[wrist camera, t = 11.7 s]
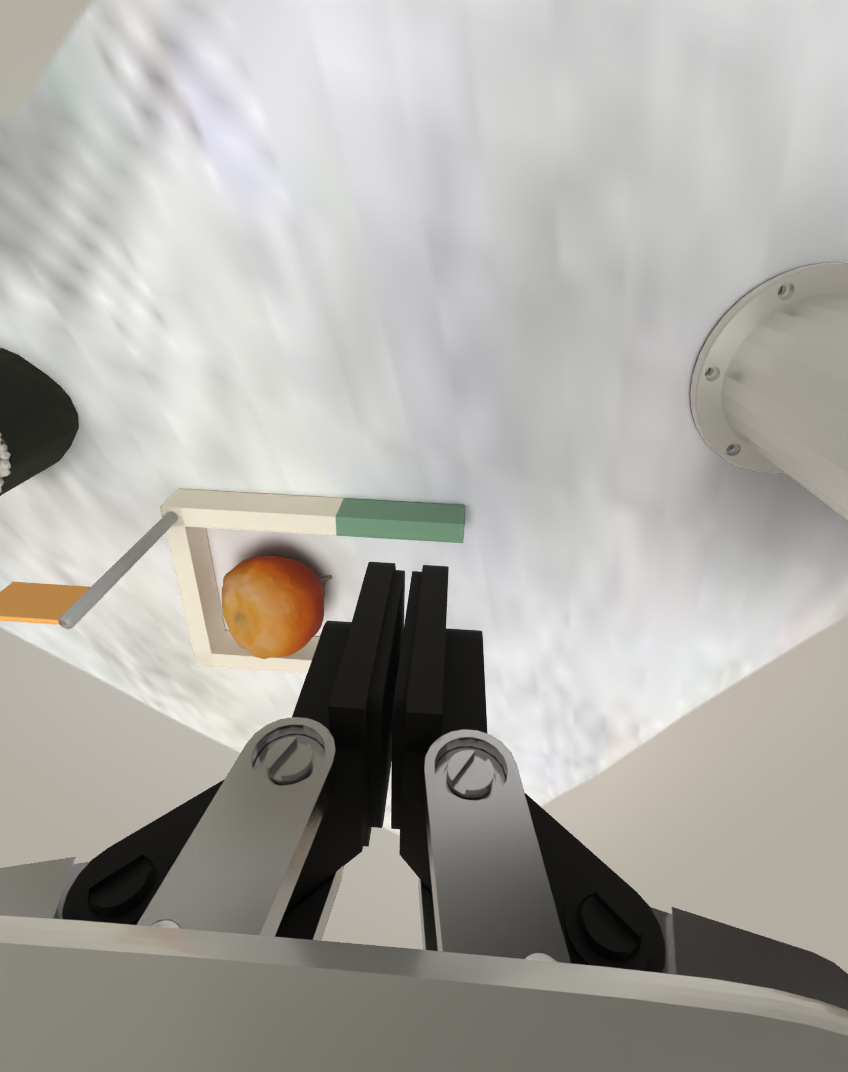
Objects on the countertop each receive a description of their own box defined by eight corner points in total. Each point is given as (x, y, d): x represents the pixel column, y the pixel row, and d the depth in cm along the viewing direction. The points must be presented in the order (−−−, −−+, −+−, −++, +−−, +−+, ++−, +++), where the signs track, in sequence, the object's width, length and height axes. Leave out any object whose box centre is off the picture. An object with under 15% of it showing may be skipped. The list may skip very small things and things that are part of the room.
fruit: (337, 648, 46) (263, 694, 40) (274, 594, 49) (195, 628, 42) (365, 574, 42) (289, 612, 36) (295, 520, 45) (212, 546, 38)
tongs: (464, 505, 40) (465, 638, 27) (452, 658, 48) (448, 820, 35) (124, 485, 41) (-33, 605, 28) (164, 639, 49) (55, 789, 36)
